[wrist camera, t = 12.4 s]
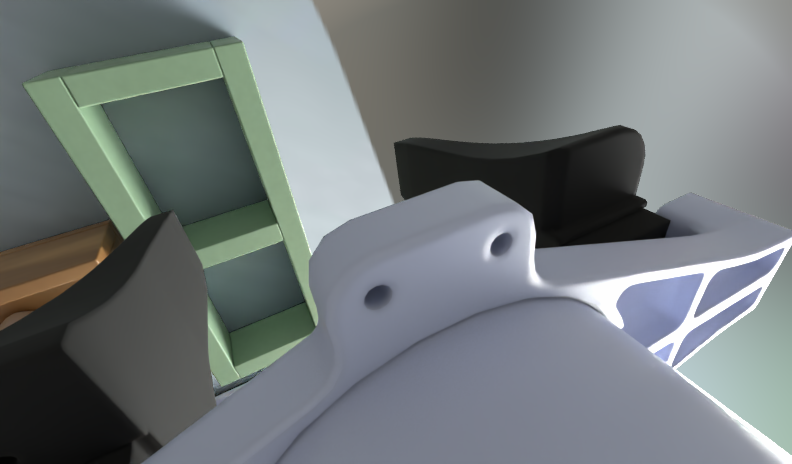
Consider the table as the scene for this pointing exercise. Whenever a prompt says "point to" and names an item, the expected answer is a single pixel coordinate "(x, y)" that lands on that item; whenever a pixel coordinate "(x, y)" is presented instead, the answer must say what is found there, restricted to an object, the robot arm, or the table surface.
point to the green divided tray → (133, 203)
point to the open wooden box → (52, 266)
